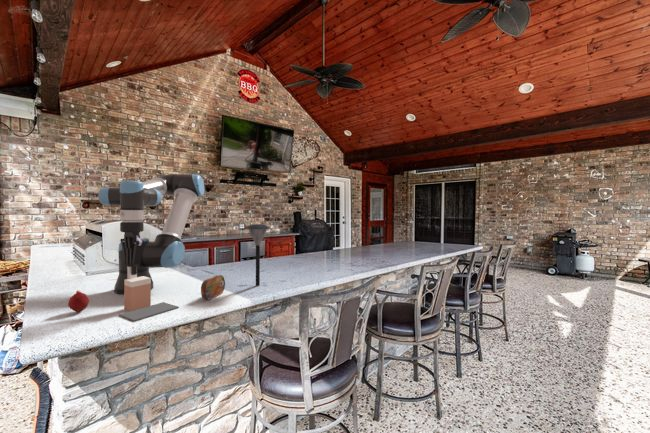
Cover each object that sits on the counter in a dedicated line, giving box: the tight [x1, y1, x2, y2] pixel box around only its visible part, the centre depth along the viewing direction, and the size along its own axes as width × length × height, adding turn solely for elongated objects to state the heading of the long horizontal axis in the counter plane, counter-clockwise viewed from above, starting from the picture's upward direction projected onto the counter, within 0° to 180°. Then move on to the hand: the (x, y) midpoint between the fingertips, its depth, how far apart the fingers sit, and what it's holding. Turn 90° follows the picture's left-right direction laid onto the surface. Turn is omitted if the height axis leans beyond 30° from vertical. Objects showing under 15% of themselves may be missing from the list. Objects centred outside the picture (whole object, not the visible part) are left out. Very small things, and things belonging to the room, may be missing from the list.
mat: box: [118, 301, 180, 322], centre depth 110 cm, size 10×16×1 cm, turn 149°
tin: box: [200, 274, 226, 300], centre depth 129 cm, size 15×3×8 cm, turn 168°
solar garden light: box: [244, 223, 271, 287], centre depth 147 cm, size 12×12×30 cm
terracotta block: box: [123, 276, 152, 312], centre depth 114 cm, size 5×7×11 cm
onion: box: [68, 290, 90, 314], centre depth 108 cm, size 6×6×8 cm
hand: (132, 282), depth 115 cm, fingers closed
